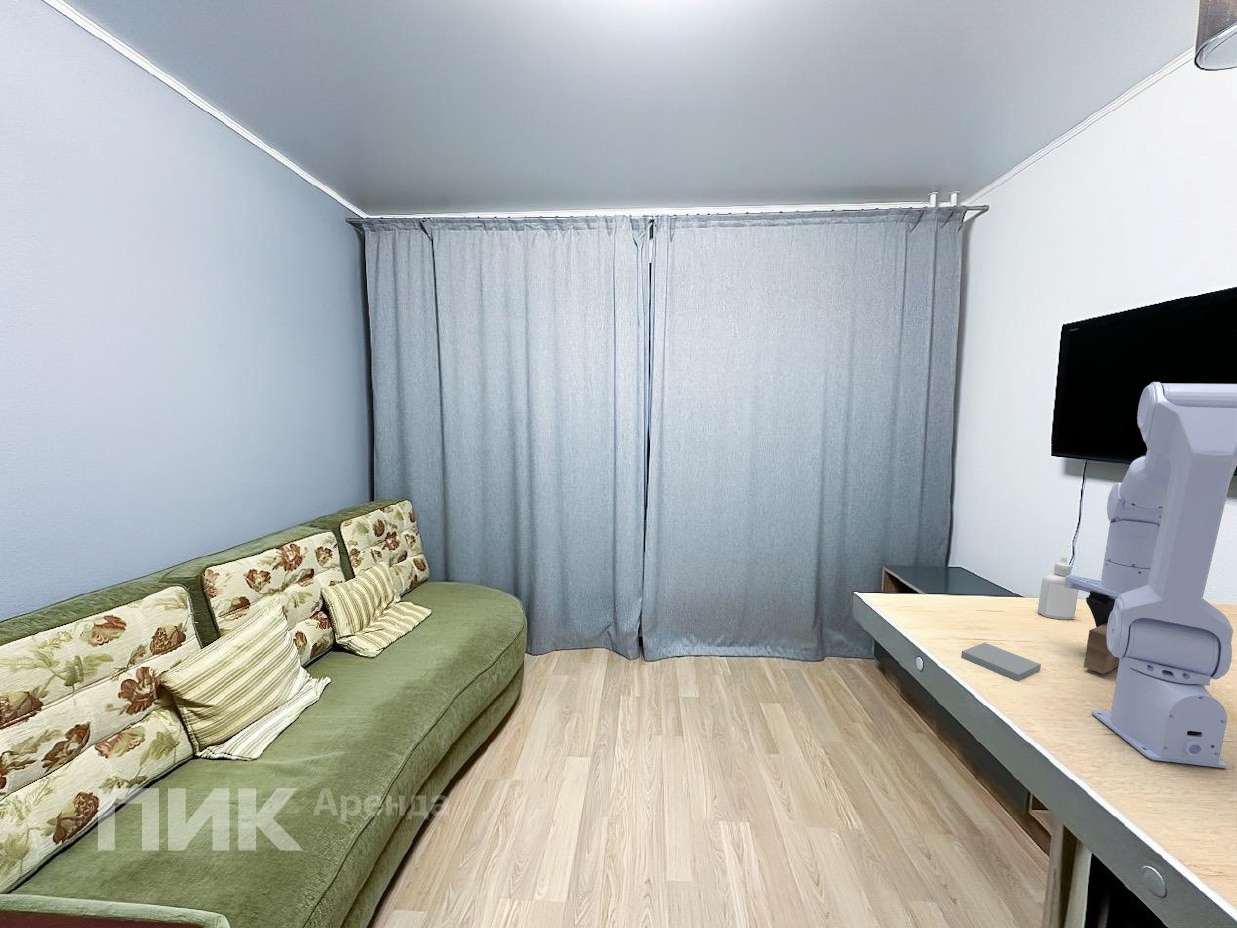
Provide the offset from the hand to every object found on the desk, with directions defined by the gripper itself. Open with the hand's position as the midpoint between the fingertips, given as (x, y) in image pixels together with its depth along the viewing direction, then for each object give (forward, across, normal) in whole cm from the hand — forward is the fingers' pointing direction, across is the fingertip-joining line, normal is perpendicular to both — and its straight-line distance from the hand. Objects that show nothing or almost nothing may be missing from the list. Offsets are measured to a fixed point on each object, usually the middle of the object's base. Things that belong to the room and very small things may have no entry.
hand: (1115, 644), depth 84 cm
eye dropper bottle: (+4, +14, -15) cm, 21 cm away
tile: (+3, +8, +14) cm, 16 cm away
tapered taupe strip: (+3, 0, 0) cm, 3 cm away
